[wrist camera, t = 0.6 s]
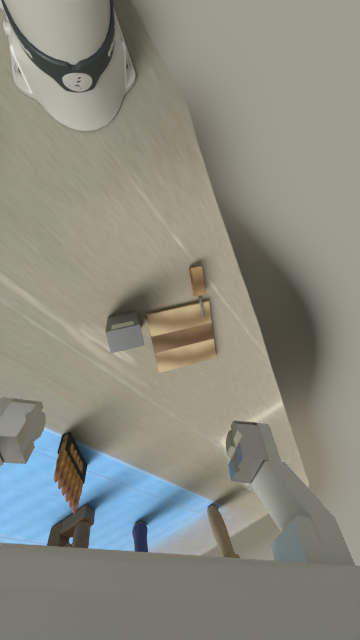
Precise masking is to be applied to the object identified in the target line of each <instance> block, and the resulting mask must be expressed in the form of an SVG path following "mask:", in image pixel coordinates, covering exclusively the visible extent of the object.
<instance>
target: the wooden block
mask: <svg viewBox="0 0 360 640" xmlns="http://www.w3.org/2000/svg"><path fill="white" fill-rule="evenodd" d="M94 515H95V510H94V509H92V508H91V507H90V506H89V505H87V504H85V505H84V506H82V507H81V508H80V509H78V510H77V511H76V512H75V514H73V513H72V514H71V515H70V516H68V517H67V518H65V519H64V520H63V521H61V522H59V523H58V524H56V525H55V526H54V527H52V528H51V531H50V535H49V539H48V544H47V546H58V547H74V548H88V546H89V536H90V526H92V525H93V524H94ZM70 537H73V543H72V545H71V544H70V543H69V538H70Z"/></svg>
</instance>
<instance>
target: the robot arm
mask: <svg viewBox="0 0 360 640" xmlns="http://www.w3.org/2000/svg"><path fill="white" fill-rule="evenodd" d="M0 8H1V10H3V11H5V14H6V20H3V26H4V30H5V33H6V35H7V36H8V37H9V45H10V54H11V62H12V70H13V78H14V81H15V83H16V85H17V87H18V88H19V89H20V90H21V91H22V92H23V93H25V94H27V95H28V96H30V97H32V98H34V99H36V100H37V101H38V102H39V103H40V104H41V105H42V106H43V107H44V109H45V110H46V111H47V112H48V113H49V114H50V115H51V116H52V117H53V118H55V119H56V120H57V121H59V122H60V123H62V124H63V125H65V126H67V127H70V128H72V129H76V130H81V131H92V130H96V129H99V128H102V127H104V126H105V125H107V124H108V123H109V122H110V121H112V119H113V118H114V117H115V116H116V114H117V112H118V110H119V108H120V106H121V103H122V100H123V97H124V95H125V94H126V93H127V92H128V91H129V90H130V89H131V88H132V86H133V85H134V83H135V81H136V76H135V70H134V67H133V64H132V61H131V58H130V55H129V52H128V49H127V46H126V43H125V40H124V37H123V34H122V31H121V28H120V25H119V22H118V19H117V16H116V13H115V10H114V7H113V1H112V0H0ZM126 66H127V67H128V68H127V69H126ZM20 72H21V73H20ZM42 408H43V404H42V402H40V401H31V400H22V399H15V398H5V397H2V398H1V399H0V466H1V465H3V462H4V463H21V464H26V463H27V461H28V459H29V457H30V455H31V453H32V451H33V449H34V441H35V440H36V439H38V438H39V437H40V436H41V434H42V432H43V430H44V426H45V423H46V416H45V413H43V412H42V411H41V410H42ZM231 429H232V430H230V431H229V432H228V434H227V438H226V450H227V455H228V456H229V457H230V459H231V460H230V462H229V471H230V477H231V481H234V482H242V483H251V486H252V487H253V489H254V491H255V492H256V494H257V495H258V497H259V498H260V500H261V501H262V503H263V505H264V506H265V508H266V509H267V511H268V512H269V514H270V515H271V517H272V519H273V520H274V522H275V523H276V525H277V526H278V528H279V529H280V531H281V533H280V534H279V535H278V536H277V537H276V538H275V539H274V541H273V542H272V544H271V546H272V551H273V555H274V559H275V561H273V560H257V559H241V558H227V557H212V556H197V555H181V554H166V553H150V552H135V551H120V550H104V549H89V548H74V547H58V546H43V545H27V544H12V543H0V640H360V566H355V564H354V562H353V559H352V557H351V554H350V552H349V550H348V547H347V545H346V543H345V540H344V538H343V536H342V533H341V531H340V528H339V526H338V524H337V522H336V519H335V517H333V515H332V514H331V513H330V512H329V511H328V510H327V509H326V507H325V506H324V505H323V504H322V503H321V502H320V501H319V500H318V499H317V498H316V496H315V495H314V494H313V493H312V492H311V491H310V490H309V489H308V488H307V486H306V485H305V484H304V483H303V482H302V481H301V480H300V479H299V478H298V476H297V475H296V474H295V473H294V472H293V471H292V470H291V469H290V468H289V467H288V465H287V464H286V463H285V462H281V459H280V456H279V453H278V450H277V447H276V444H275V441H274V438H273V435H272V432H271V429H270V426H269V425H268V424H262V423H255V422H243V421H233V422H232V424H231Z"/></svg>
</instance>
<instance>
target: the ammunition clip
mask: <svg viewBox="0 0 360 640" xmlns="http://www.w3.org/2000/svg"><path fill="white" fill-rule="evenodd" d="M86 470H87V464H86V462H85V460H84V458H83V456H82V454H81V452H80V450H79V448H78V446H77V444H76V443H75V441H74V439H73V437H72V435H71V433H70V432H69V433H67V434H64V435H62V438H61V442H60V445H59V449H58V459H57V462H56V469H55V474H54V481H55V483H56V482H57V481H58V488H59V489H60V488H61V487H62V495H63V496H64V495H65V498H66V502H68V500H69V507H70V508H71V507H72V510H73V514H75V512H76V510H77V507H78V504H79V499H80V495H81V492H82V486H83V484H84V482H85V476H86ZM65 493H66V494H65Z"/></svg>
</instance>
